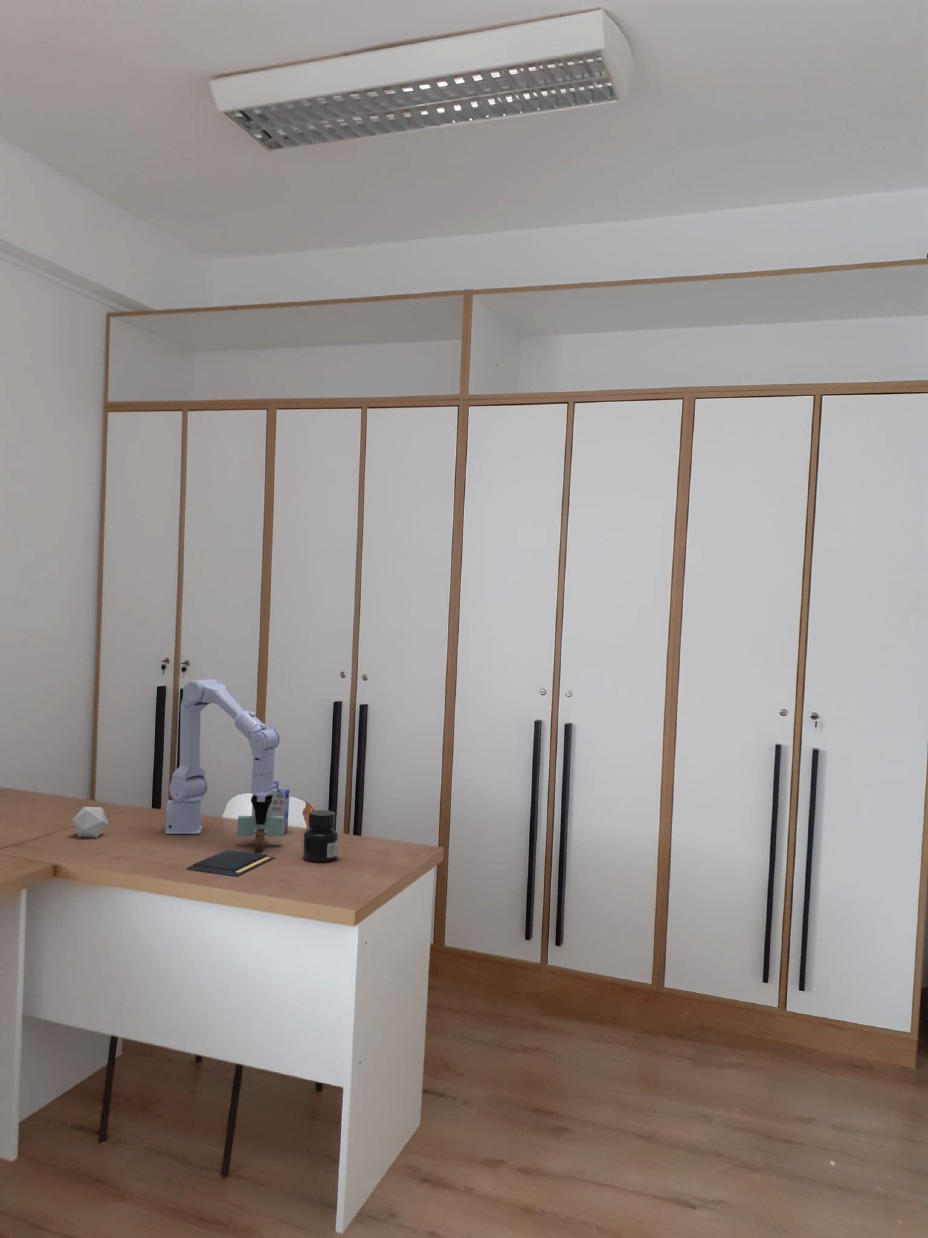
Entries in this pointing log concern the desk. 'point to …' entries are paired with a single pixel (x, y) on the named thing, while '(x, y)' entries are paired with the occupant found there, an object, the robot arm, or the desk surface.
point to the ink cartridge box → (278, 806)
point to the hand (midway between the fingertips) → (260, 823)
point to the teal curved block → (260, 826)
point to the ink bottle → (321, 837)
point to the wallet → (231, 863)
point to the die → (90, 822)
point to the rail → (259, 840)
